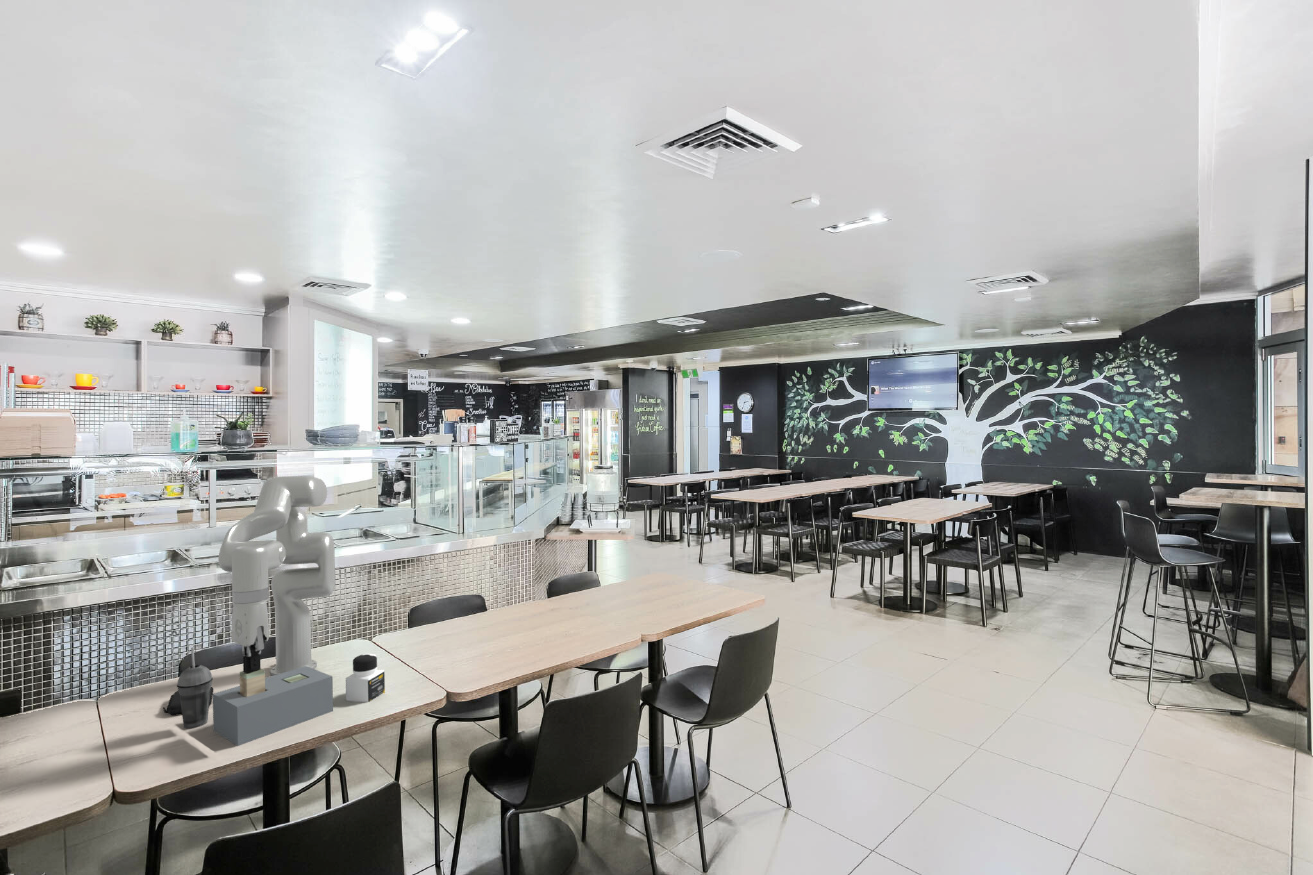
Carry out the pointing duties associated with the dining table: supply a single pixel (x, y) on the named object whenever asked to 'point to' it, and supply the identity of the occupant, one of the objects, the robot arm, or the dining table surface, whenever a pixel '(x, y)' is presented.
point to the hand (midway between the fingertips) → (251, 671)
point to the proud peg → (252, 683)
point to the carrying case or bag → (179, 704)
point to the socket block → (272, 706)
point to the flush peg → (294, 678)
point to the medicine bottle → (365, 679)
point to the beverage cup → (195, 694)
